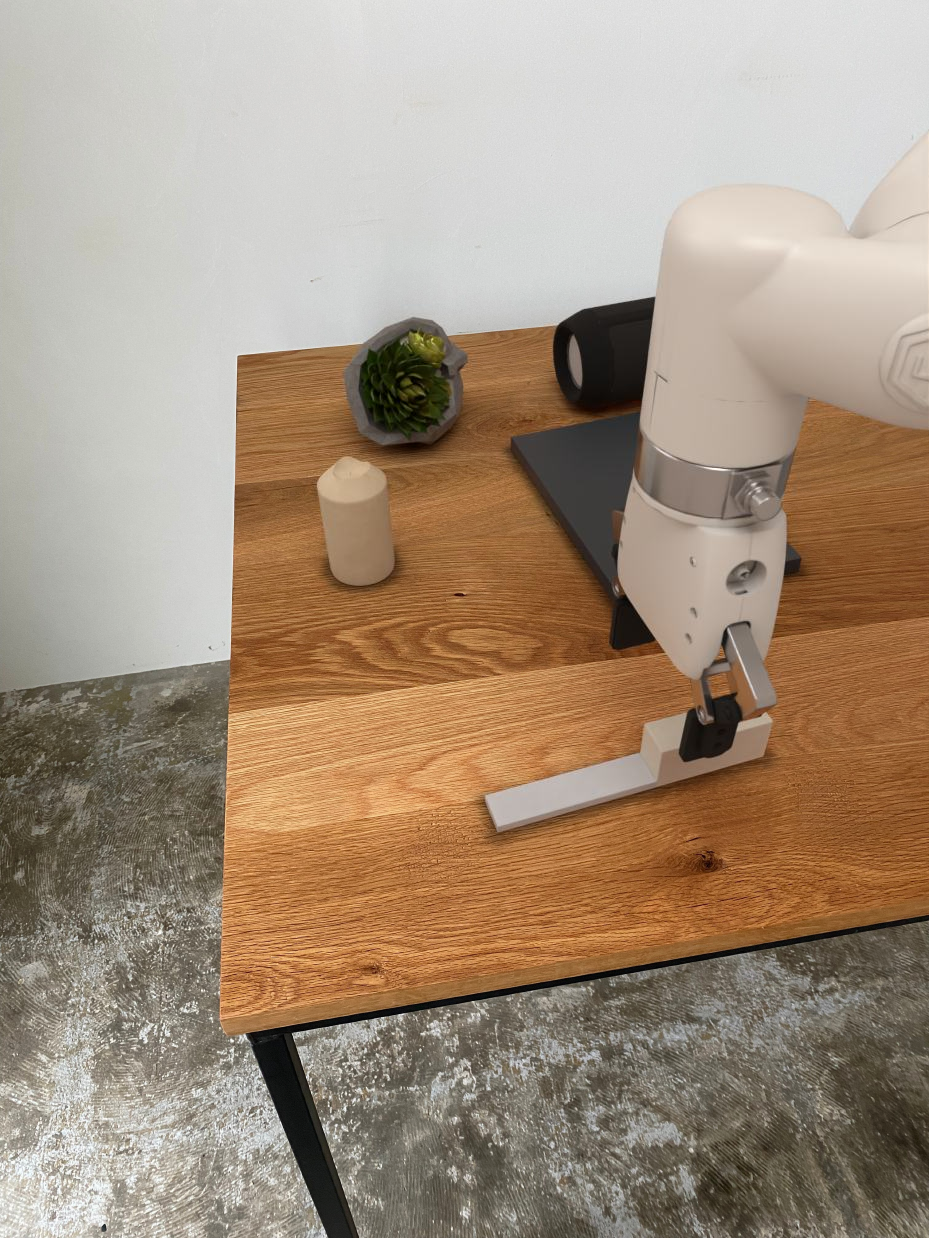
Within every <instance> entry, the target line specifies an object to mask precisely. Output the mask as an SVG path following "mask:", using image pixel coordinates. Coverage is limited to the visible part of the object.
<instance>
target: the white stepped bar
mask: <svg viewBox="0 0 929 1238" xmlns="http://www.w3.org/2000/svg"><path fill="white" fill-rule="evenodd" d="M687 712H688V711H686V712H683V713H679V714H675V715H672V716H668V717H667V716H666V717H664V718H661V719H656V720H653V721H649V722H646V723H644V725H643V731H642V737H641V743H640V751H639V752H637V753H632V754H629V755H626V756H622V757H618V758H614V759H610V760H607V761H604V762H600V763H597V764H593V765H590V766H585V767H582V768H579V769H576V770H571V771H567V772H565V773H560V774H556V775H553V776H550V777H547V778H542V779H539V780H536V781H532V782H528V783H525V784H521V785H517V786H514V787H509V788H505V789H502V790H499V791H496V792H492V793H489V794H485V795H484V802H485V805H486V808H487V810H488V813H489V815H490V817H491V820H492V822H493V825H494V827H495V829H496V832H497V833H502V832H505V831H510V830H513V829H516V828H519V827H523V826H526V825H530V824H534V823H538V822H540V821H544V820H548V819H551V818H554V817H558V816H561V815H565V814H569V813H573V812H576V811H579V810H583V809H586V808H590V807H593V806H596V805H599V804H604V803H607V802H610V801H613V800H614V801H615V800H618V799H620V798H624V797H628V796H632V795H635V794H639V793H642V792H645V791H649V790H652V789H655V788H659V787H663V786H666V785H669V784H672V783H676V782H680V781H684V780H686V779H690V778H693V777H697V776H701V775H703V774H704V775H705V774H708V773H711V772H714V771H717V770H721V769H725V768H728V767H732V766H737V765H739V764H742V763H746V762H749V761H754V760H756V759H757V760H758V759H760V758H763V757H764V756H765V752H766V749H767V745H768V743H769V742H768V741H769V738H770V735H771V731H772V727H773V726H774V725H773V724H774V720H773V719H772V718H771V717H770V715H769V714H768V711H767V712H765V713H764V714H762V716H761V717H758V718H754V719H750V720H746V721H743V722H739V723H738V727H737V731H736V734H735V738H734V741H733V745H732V747H731V749H729V750H728V751H726V752H725V753H724V754H722V755H720V756H717V757H713V758H705V757H704V758H701V759H697V760H693V761H690V762H683V760H682V759H681V757H680V756H679V747H680V742H681V738H682V733H683V729H684V724H685V720H686V715H687Z"/></svg>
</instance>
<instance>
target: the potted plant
mask: <svg viewBox="0 0 929 1238" xmlns="http://www.w3.org/2000/svg"><path fill="white" fill-rule="evenodd" d="M468 358H469V357H468V355H467V353H466V351H465V350H464V349H460V348H459V347H458V346H457V345H456V344H455V343H454V342H452V341H451V340H450V338H449V336H448V334H447V333H446V331H445V330H444V328H443V327H442V326H441V325H439V324H438V323H437V322H436V321H434V320H433V319H427V318H422V317H416V316H412V317H408V318H407V319H406V318H405V319H404V320H401V321H397V322H396V323H393V324H391V325H388V326H385V327H383V328H382V329H381V330H379V332H377V333H376V334H375V335H373V336H371V337H370V338H368V339H367V340H366V341H364V342H363V343H362V344H361V345H360V346H359V348H358V349H357V351H356V352H355V354H354V355H353V356H352V359H351V360H350V361H349V363H348V365H346V367H345V369H344V370H343V372H342V375H343V381H344V389H345V395H346V401H347V403H348V405H349V409H350V411H351V414H352V416H353V419H354V422H355V424H356V427H357V429H358V432H359V434H361V435H362V436H364V437H366V438H368V439H370V440H371V441H373V442H375V443H376V444H378V445H380V446H389V445H400V444H408V443H419V444H424V445H429V446H431V445H433V443H435V442H436V441H437V440H439V439H440V438H441V437H442V436H443V435H444V434H446V433H447V432H448V431H450V430H451V428H452V427H453V425H454V424H455V423H456V421H457V420H458V418H459V415H460V412H461V409H462V408H463V396H464V383H463V379H462V375H461V373H460V372H461V370H462V369H463V368H464V367H465V366H466V364H468V363H469V362H468Z"/></svg>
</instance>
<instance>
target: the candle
mask: <svg viewBox="0 0 929 1238" xmlns="http://www.w3.org/2000/svg"><path fill="white" fill-rule="evenodd" d="M316 489H317V496H318V501H319V507H320V514H321V520H322V527H323V532H324V533H323V534H324V538H325V545H326V550H327V556H328V562H329V568H330V571H331V574H332V575H333V577H334V578H335V579H336V580H337V581H339V582H341V583H342V584H346V585H348V586H355V587H364V586H370V585H374V584H377V583H379V582H382V581H383V580H385V579H386V578H388V577H389V576H390V575H391V574H392V572H393V571H394V568H395V562H396V559H395V558H396V557H395V549H394V539H393V529H392V520H391V519H392V517H391V510H390V502H389V501H390V499H389V492H388V491H389V490H388V481H387V476H386V474H385V472H384V471H383V470H381V468H378V467H377V466H376V465H373V464H372V463H370V461H363V460H359V459H357V458H354V457H353V456H347V455H346V456H343V457H341V458H339V459H338V460H337V461H336V462H335V463H334V464H333V465H332V466H330V467H329V468H328V469H326V470H325V471H324V472H323V473H322V474H321V475H320V477H319V478H318V480H317V483H316Z"/></svg>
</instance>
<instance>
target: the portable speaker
mask: <svg viewBox="0 0 929 1238" xmlns="http://www.w3.org/2000/svg"><path fill="white" fill-rule="evenodd" d="M655 298H656V295H655V296H650V297H644V298H638V299H632V300H626V301H621V302H616V303H610V304H609V303H608V304H603V305H599V306H593V307H587V308H583V309H580V310H579V311H577V312H575V313H573V314H571V315H570V316H569V317H567V318H565V319H564V320H562V321H561V322H559V323H558V324H557V326H556V327H555V331H554V335H553V340H552V360H553V367H554V374H555V377H556V380H557V383H558V386H559V388H560V391H561V392H562V394H563V396H564V398H565V399H566V400H567V401H568V402H569V403H572V404H576V405H581V406H585V407H586V406H587V407H592V408H600V407H606V406H610V405H616V404H621V403H626V402H630V401H635V400H636V401H637V400H643V392H644V385H645V378H646V370H647V362H648V352H649V345H650V337H651V329H652V321H653V313H654V306H655Z"/></svg>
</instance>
